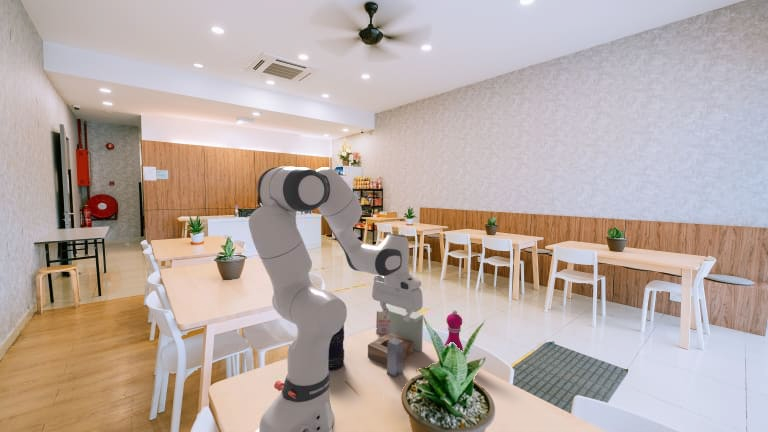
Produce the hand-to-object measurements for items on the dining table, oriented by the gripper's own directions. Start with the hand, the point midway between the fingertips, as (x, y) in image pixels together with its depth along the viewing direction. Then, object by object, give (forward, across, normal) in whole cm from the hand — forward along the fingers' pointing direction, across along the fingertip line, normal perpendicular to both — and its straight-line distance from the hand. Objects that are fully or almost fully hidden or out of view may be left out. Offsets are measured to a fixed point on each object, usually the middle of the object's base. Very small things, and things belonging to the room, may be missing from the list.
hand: (395, 317), depth 111 cm
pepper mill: (+21, +12, +22) cm, 33 cm away
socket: (+21, -9, +9) cm, 24 cm away
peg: (+21, 0, 0) cm, 21 cm away
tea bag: (+21, -24, +23) cm, 39 cm away
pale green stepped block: (+21, -9, +17) cm, 28 cm away
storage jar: (+21, -22, -11) cm, 32 cm away
